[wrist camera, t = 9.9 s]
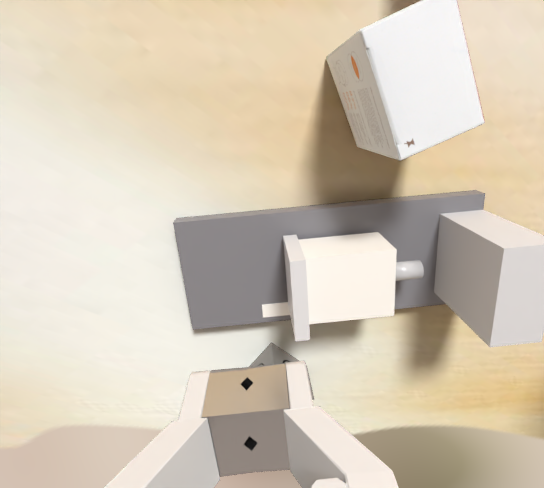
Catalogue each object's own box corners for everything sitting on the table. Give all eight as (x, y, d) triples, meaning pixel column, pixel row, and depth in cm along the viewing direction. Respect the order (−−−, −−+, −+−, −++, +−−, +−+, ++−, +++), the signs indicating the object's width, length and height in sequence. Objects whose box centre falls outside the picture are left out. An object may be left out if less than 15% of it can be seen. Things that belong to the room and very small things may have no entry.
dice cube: (277, 394, 41) (281, 430, 37) (242, 373, 40) (241, 407, 35) (306, 365, 40) (314, 398, 36) (271, 342, 39) (274, 373, 34)
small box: (415, 121, 32) (488, 126, 22) (355, 148, 33) (400, 164, 23) (388, 25, 29) (458, -19, 19) (323, 55, 30) (359, 28, 20)
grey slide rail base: (195, 321, 38) (174, 396, 28) (176, 218, 34) (145, 262, 24) (463, 294, 38) (538, 358, 28) (475, 190, 34) (565, 222, 25)
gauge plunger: (289, 321, 36) (296, 360, 30) (283, 235, 33) (289, 261, 27) (406, 309, 36) (435, 346, 30) (411, 223, 33) (444, 246, 27)
